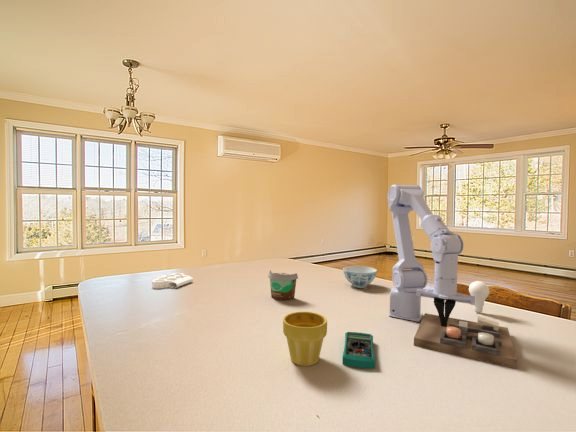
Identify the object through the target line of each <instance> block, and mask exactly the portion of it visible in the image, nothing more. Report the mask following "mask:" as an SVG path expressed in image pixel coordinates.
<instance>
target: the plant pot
mask: <svg viewBox="0 0 576 432" xmlns="http://www.w3.org/2000/svg"><path fill="white" fill-rule="evenodd" d="M282 332H283V334H284V336H285V338H286V341H287V346H288V353H289V356H290V360H291V362H292V364H293V363H294V364H295V365H298V366H303V367H307V366H313V365H315V364H317V363H318V362H319V359H320V355H321V351H322V347H323V343H324V342H323V341H324V338H325V337H326V336H327V332H328V320H327V318H326V316H324V315H323V314H321V313H317V312H314V311H294V312H291V313H288V314H286V315H285V316H284V317H283V319H282Z"/></svg>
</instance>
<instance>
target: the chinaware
mask: <svg viewBox="0 0 576 432" xmlns="http://www.w3.org/2000/svg"><path fill="white" fill-rule="evenodd" d="M342 270H343V275H344V277H345V279H346V280H347V281H348V282H349V283H350V284H351V286H352V287H353V288H357V289H362V288H363V289H365V288H367V287H368V285H370V284H371V283H372V282H373V281H374V279H375V278H376V275H377V272H378V270H377V268H374V267H369V266H363V265H350V266H345V267H343V268H342Z"/></svg>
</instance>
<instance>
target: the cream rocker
mask: <svg viewBox="0 0 576 432" xmlns="http://www.w3.org/2000/svg"><path fill="white" fill-rule="evenodd" d="M476 322H477V325H480V326H483V325H486V326H492V327H493V330H496V331H498V330H499V326H500V323H499V322H498V321H495V320H492V319H490V318H486V317H482V316H479V315H478V316H477V320H476Z"/></svg>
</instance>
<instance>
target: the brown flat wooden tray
mask: <svg viewBox="0 0 576 432" xmlns="http://www.w3.org/2000/svg"><path fill="white" fill-rule="evenodd" d="M459 321H464V322H468V323H467V334H463V333H461V337H460V338H451V337H448V336H447V335H446V332H447V327H449V326H451V327H457V328H459ZM447 327H443V326H441V322H440V317H439V314H437V315H436V314H432V313H427V312H424V313H423V316H422V318H421V320H420V323H419V325H418V328H417V330H416V332H415V335H414V337H413V346H416V347H421V348H424V349H429V350H434V351H438V352H441V353H446V354H450V355H455V356H460V357H463V358H469V359H473V360H477V361H478V360H479V361H482V362H487V363H490V364H495V365H499V366H502V367H504V366H505V367H508V368H512V369H517V366H518V358H517V355H516V351H515V348H514V345H513V340H512V339H511V337H512V336H511V334H510V331H509V328H508V327H505V326H500V325H499V330H498V331H496V330H493V327H492V326H486V325H483V326H480V325H477V321H471V320H467V319H466V320H465V319H460V318H455V317H454V318H453V317H449V318H448V321H447ZM480 332H484V333H489V334H491V335H493V336H494V342H493V345H485V344H482V343H480V342H478V333H480Z"/></svg>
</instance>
